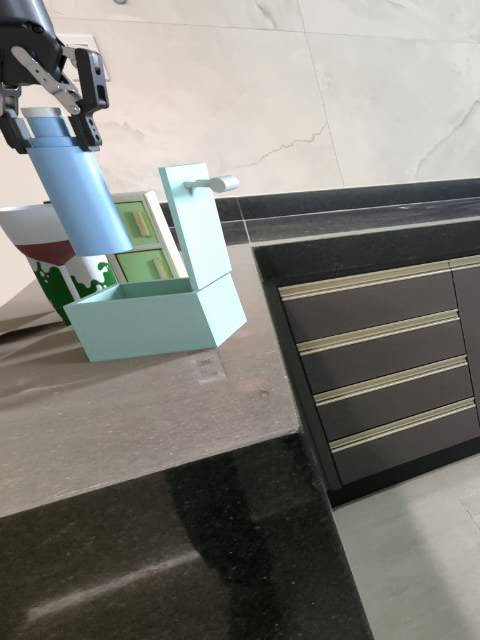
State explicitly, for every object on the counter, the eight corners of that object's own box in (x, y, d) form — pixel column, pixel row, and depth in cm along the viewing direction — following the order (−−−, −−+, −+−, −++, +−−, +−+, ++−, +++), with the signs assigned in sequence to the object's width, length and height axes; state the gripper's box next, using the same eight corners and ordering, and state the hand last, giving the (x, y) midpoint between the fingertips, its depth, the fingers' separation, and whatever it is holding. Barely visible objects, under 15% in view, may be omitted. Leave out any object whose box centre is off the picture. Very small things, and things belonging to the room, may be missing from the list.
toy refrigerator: (136, 331, 86) (77, 198, 78) (145, 319, 92) (91, 194, 84) (197, 321, 90) (146, 193, 82) (202, 310, 96) (155, 190, 87)
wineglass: (43, 344, 82) (-27, 212, 74) (84, 325, 90) (25, 204, 82) (102, 338, 84) (40, 209, 75) (138, 321, 91) (85, 201, 83)
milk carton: (131, 317, 93) (78, 200, 85) (59, 330, 88) (-5, 207, 80) (130, 307, 99) (80, 196, 91) (62, 319, 94) (4, 202, 86)
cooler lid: (157, 167, 66) (210, 169, 68) (199, 162, 77) (244, 164, 79) (192, 290, 72) (239, 289, 74) (226, 270, 83) (267, 269, 85)
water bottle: (65, 258, 62) (-8, 107, 55) (92, 249, 66) (27, 109, 60) (119, 253, 63) (54, 106, 57) (142, 245, 68) (84, 108, 61)
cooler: (93, 368, 73) (62, 306, 69) (139, 338, 83) (115, 283, 79) (219, 352, 76) (196, 293, 73) (249, 326, 87) (230, 272, 83)
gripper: (-154, -42, 48) (-48, 157, 55) (44, -35, 52) (119, 150, 59) (-81, -21, 55) (5, 155, 61) (89, -16, 58) (152, 149, 65)
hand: (60, 152), depth 60 cm, fingers closed on water bottle, 5 cm apart
